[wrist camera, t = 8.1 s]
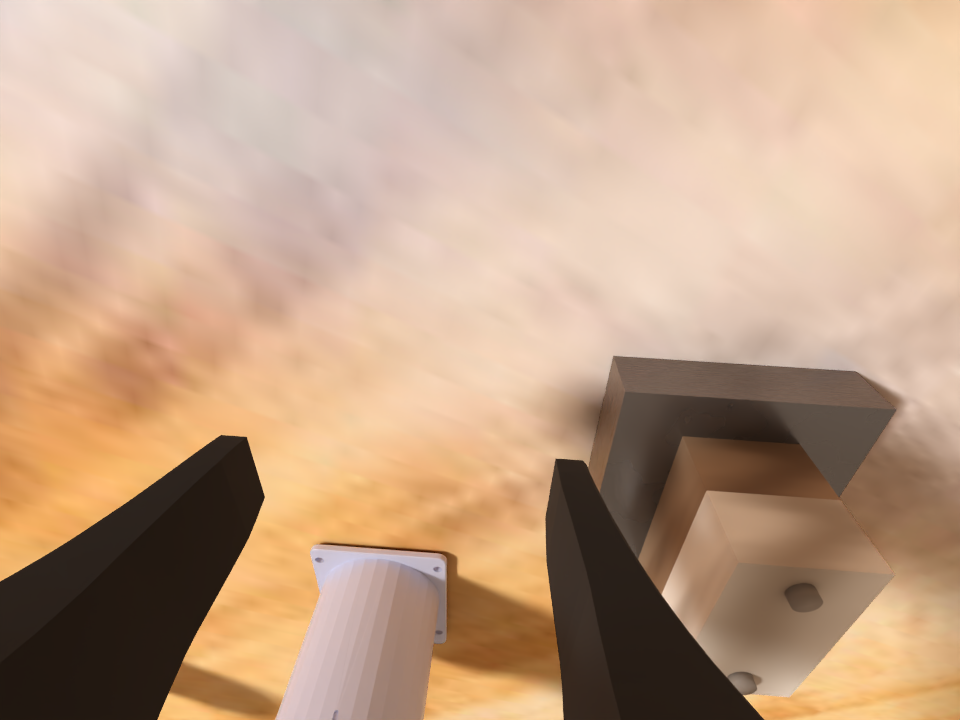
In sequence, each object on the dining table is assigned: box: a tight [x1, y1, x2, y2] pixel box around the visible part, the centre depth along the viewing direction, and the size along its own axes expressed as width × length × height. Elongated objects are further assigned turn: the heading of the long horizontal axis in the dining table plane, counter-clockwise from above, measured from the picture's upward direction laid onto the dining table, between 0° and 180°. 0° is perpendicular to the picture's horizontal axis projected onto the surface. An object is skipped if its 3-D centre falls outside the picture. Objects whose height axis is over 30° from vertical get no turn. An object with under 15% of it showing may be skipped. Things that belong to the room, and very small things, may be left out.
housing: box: [638, 436, 895, 697], centre depth 19 cm, size 5×8×6 cm, turn 178°
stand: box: [588, 356, 897, 559], centre depth 22 cm, size 11×10×2 cm
